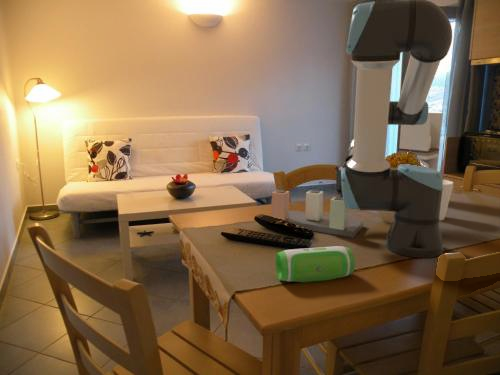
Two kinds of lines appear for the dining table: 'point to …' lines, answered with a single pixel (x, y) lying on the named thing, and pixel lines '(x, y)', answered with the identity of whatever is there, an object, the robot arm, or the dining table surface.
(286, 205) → the pink rectangular block
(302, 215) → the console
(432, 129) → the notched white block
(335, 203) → the pale green block
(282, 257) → the speaker
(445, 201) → the foam cup
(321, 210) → the white upright block
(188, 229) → the dining table surface
